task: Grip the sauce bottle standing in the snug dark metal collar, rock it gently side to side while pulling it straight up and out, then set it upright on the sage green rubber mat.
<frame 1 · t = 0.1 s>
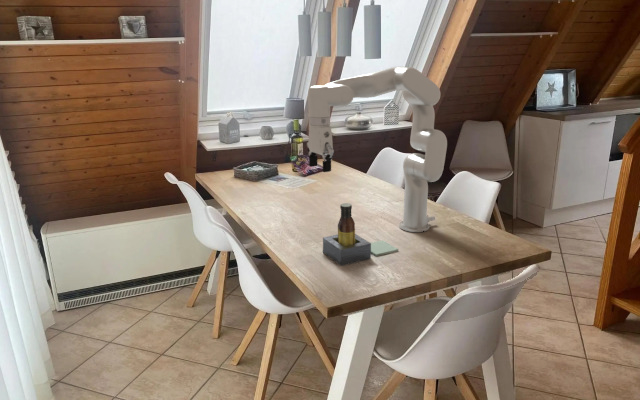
hand: (320, 168, 177), 31 cm above the table, tool pointing down, fingers open, 9 cm apart
collar: (346, 255, 180), on the table
mat: (379, 249, 185), on the table
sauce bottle: (346, 256, 180), resting in collar
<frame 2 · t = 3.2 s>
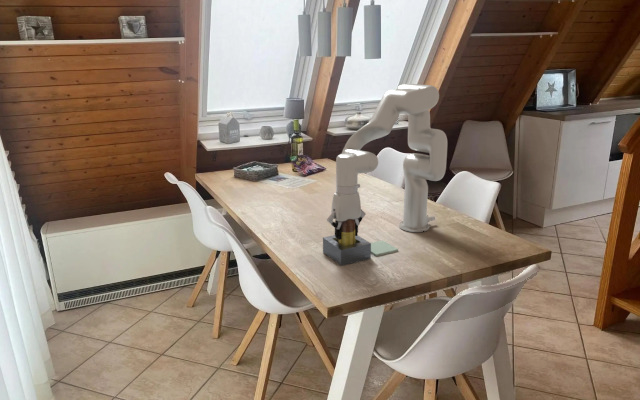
hand: (346, 236, 177), 8 cm above the table, tool pointing down, fingers closed on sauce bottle, 6 cm apart
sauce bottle: (346, 255, 180), resting in collar, touching gripper
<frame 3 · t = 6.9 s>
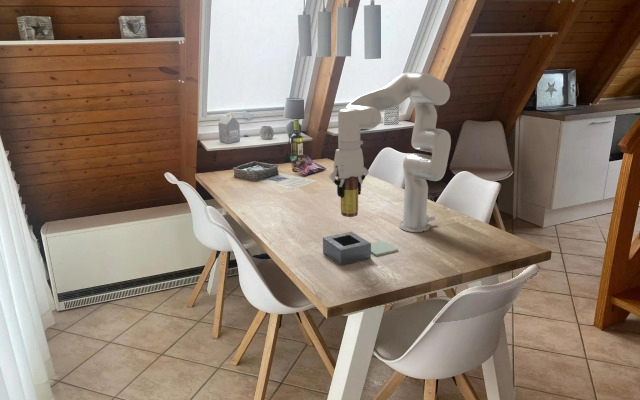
hand: (349, 194, 173), 23 cm above the table, tool pointing down, fingers closed on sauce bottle, 6 cm apart
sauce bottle: (349, 215, 175), point 15 cm above the table, touching gripper
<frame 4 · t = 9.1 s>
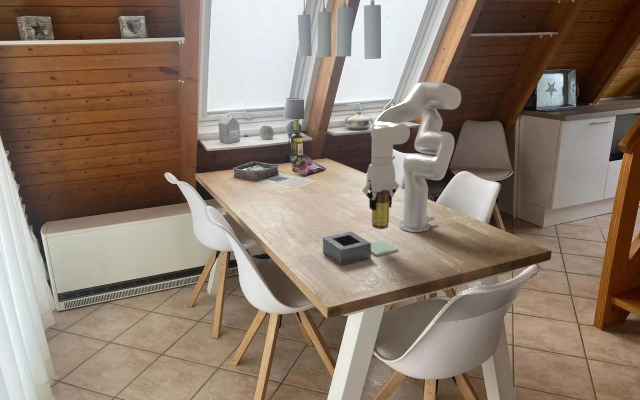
hand: (380, 207, 180), 17 cm above the table, tool pointing down, fingers closed on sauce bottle, 6 cm apart
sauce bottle: (379, 227, 182), point 9 cm above the table, touching gripper
when the fingers open (10 cm above the table, at t = 10.8 s): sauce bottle drops 1 cm, resting on mat.
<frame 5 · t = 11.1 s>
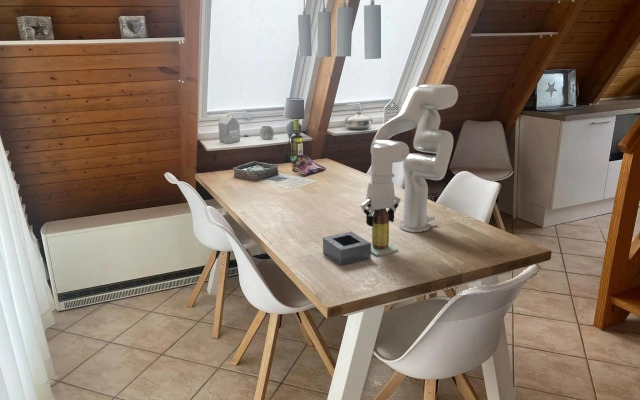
hand: (380, 223, 182), 11 cm above the table, tool pointing down, fingers open, 9 cm apart
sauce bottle: (380, 247, 185), point 1 cm above the table, touching mat
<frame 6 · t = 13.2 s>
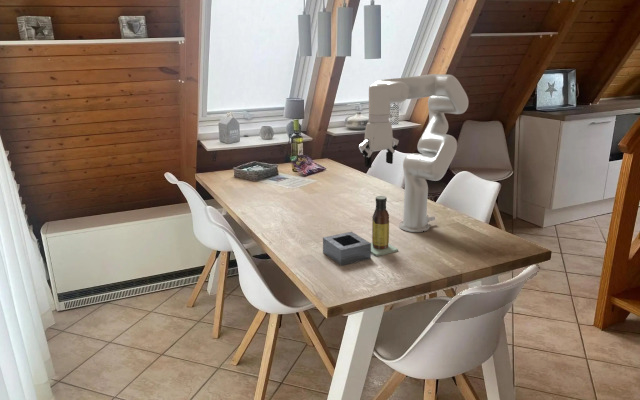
hand: (378, 165, 180), 31 cm above the table, tool pointing down, fingers open, 9 cm apart
nothing on the table moved.
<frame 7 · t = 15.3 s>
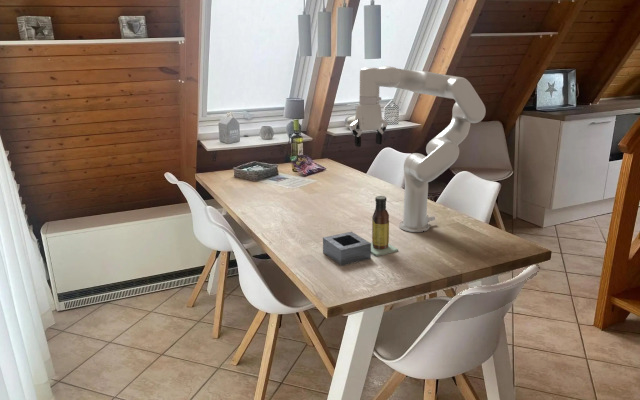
hand: (368, 145, 192), 36 cm above the table, tool pointing down, fingers open, 9 cm apart
nothing on the table moved.
at the end: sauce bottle inside the target area on the mat (0.3 cm from its centre), point 0.6 cm above the mat's base; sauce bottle tilted 0°; the gripper is holding nothing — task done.
